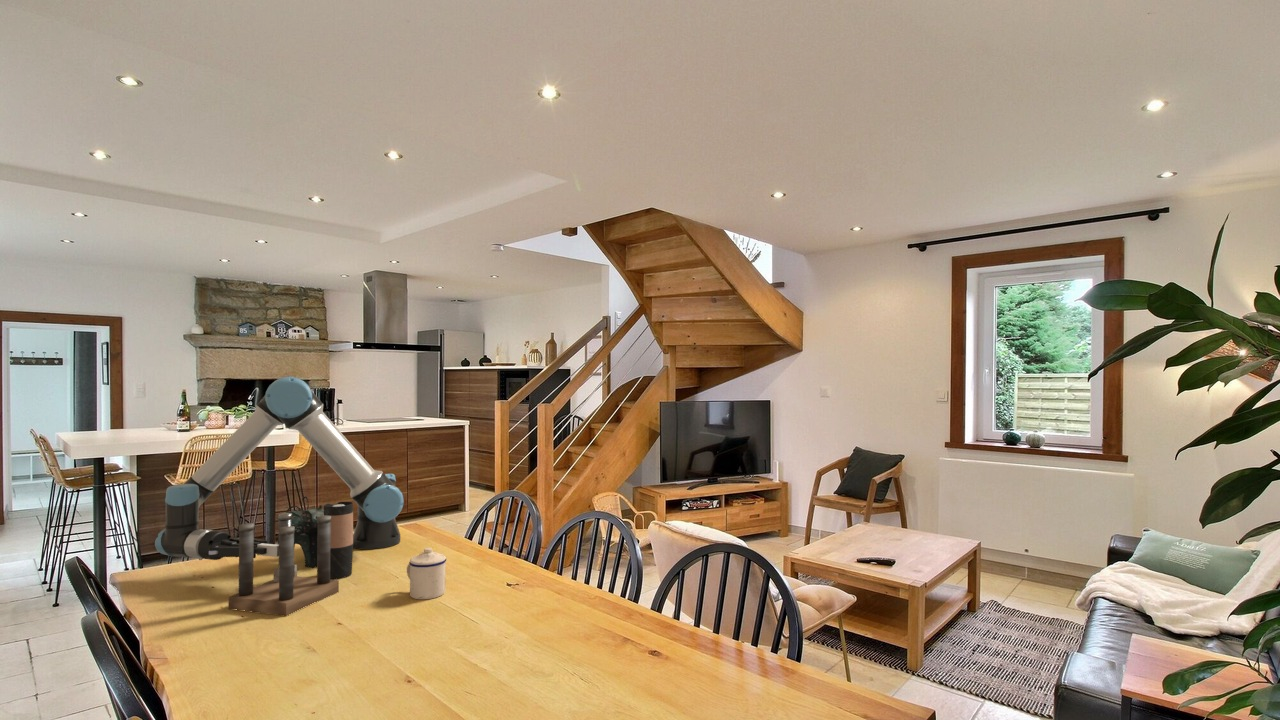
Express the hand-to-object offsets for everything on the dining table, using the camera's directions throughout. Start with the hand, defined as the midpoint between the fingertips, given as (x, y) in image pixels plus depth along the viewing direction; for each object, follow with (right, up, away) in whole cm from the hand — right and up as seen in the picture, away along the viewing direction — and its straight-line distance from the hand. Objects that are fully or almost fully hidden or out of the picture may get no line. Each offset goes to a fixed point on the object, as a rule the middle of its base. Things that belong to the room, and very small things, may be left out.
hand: (279, 550), depth 166 cm
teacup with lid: (+39, -10, -3) cm, 40 cm away
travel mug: (+10, -11, +12) cm, 19 cm away
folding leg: (+2, -6, 0) cm, 6 cm away
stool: (+6, -10, -8) cm, 14 cm away
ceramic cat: (-7, -11, +23) cm, 27 cm away
